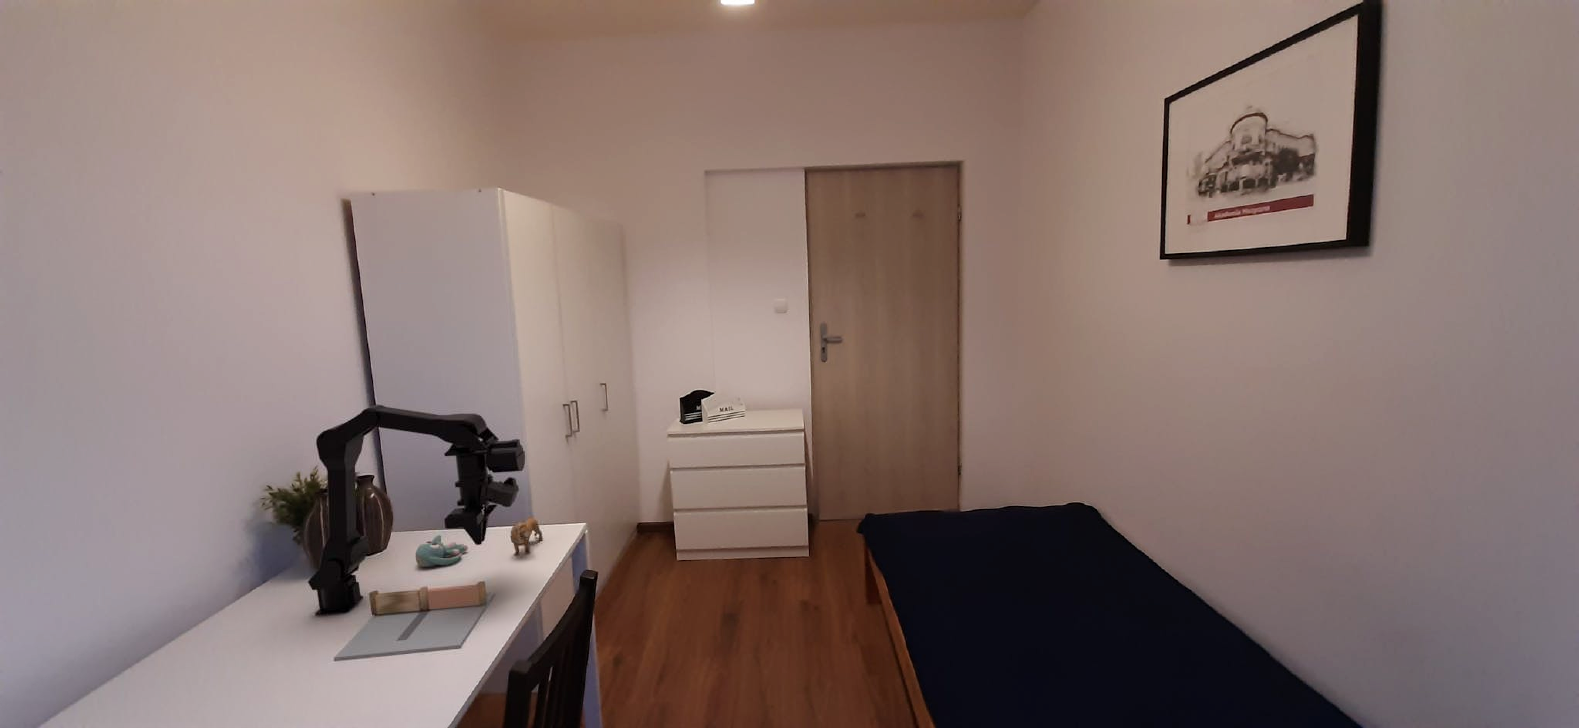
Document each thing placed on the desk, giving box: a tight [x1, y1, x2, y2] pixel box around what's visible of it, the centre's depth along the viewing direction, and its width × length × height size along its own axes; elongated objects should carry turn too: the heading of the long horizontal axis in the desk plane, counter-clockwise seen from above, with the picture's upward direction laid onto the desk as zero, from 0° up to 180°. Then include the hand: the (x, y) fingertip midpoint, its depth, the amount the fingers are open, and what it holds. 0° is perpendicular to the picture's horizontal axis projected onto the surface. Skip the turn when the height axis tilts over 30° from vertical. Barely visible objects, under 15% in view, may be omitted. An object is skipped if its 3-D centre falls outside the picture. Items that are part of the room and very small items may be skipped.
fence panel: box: [419, 580, 487, 610], centre depth 133 cm, size 13×2×4 cm, turn 97°
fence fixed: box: [368, 589, 422, 616], centre depth 131 cm, size 10×2×4 cm, turn 97°
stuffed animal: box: [415, 534, 469, 568], centre depth 157 cm, size 11×7×12 cm
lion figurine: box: [510, 518, 544, 557], centre depth 162 cm, size 15×5×9 cm, turn 8°
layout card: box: [333, 592, 496, 661], centre depth 128 cm, size 22×20×1 cm
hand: (480, 543), depth 138 cm, fingers closed
